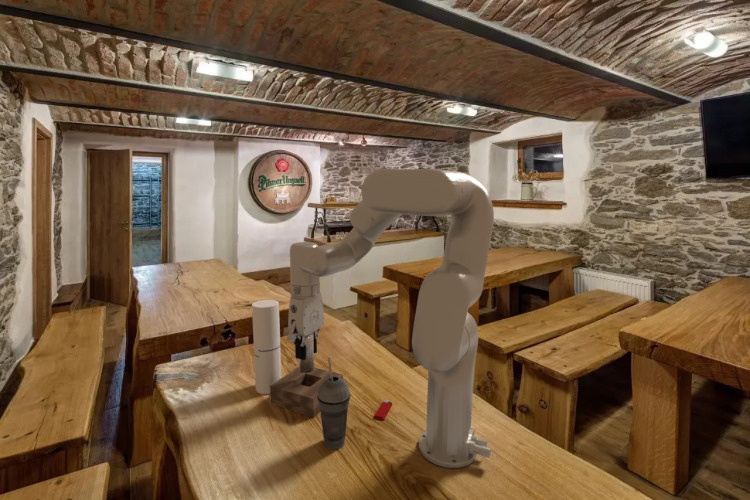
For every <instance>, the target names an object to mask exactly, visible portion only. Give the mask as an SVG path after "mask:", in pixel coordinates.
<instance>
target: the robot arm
mask: <svg viewBox="0 0 750 500" xmlns="http://www.w3.org/2000/svg"><path fill="white" fill-rule="evenodd" d="M360 191H361V193H360V194H361V199H362V200H360V202H358V204H357V205H356V206H354V208H352V210H351V211H350V214H349V221H350V224H351V225H352V227H353V228H352V229H351V230H350V231H349V233H348V234H347V235H345V236H344V237H343V238H342V239H341V240H339V241H337V242H333V243H326V244H323V245H318V244H317V243H315V242H311V241H301V242H295V243H292V244H291V245H290V248H289V268H290V270H289V272H290V273H289V274H290V277H289V278H290V299H289V305H288V321H287V322H288V335H287V340H288V341H290V342H292V344H293V345H294V348H295V349H294V352H295V353H294V355H295V356H294V357H295V359H298V360H299V359H301V360H306V345H305V336H307V335H309V334H311V333H313V335H314V354H317V353H318V337H319V331H320V329H321V328H323V326H324V325H325V314H324V302H323V297H322V293H321V288H320V287H321V285H320V284H321V283H320V282H321V281H320V280H321V278H325V277H328V276H332V275H334V274H336V273H340V272H343V271H344V272H345V271H348V270H349V269H351V268H353V267H354V266H356V265H357V263H359V262H360V261H361V260H362V259H363V258H364V257H365V256H366V255H368V254H369V252H370V251H372V249H373V247H374V245H375V244H376V242H377V240H378V238H379V237H380V236H381V235H382V234H383V233H384V232H385V231H386V230H387V229H388V228H389V227H390V226H392V224H394V222H396V221H397V220H398V219H399V218H401V216H402V215H412V216H422V217H423V216H425V217H426V216H427V217H436V216H437V217H440V216H446V215H450V216H451V221H450V226H449V229H448V232H447V235H446V238H445V247H444V253H443V257H442V262H441V265H440V266H439V267H436V268H434V269H433V270H431V271H430V272H429V273H428V274H427V275H426V276H425V278H424V280H422V283H421V285H420V289H419V292H418V296H417V303H416V308H415V309H416V310H415V316H414V322H413V330H412V338H411V345H412V346H411V347H412V352H413V355H414V357H415V360H416V361H417V362H418V364H419V365H420V366H421V367H422V368H423V369H425V371H426V370H427V371H428V372H427V395H426V396H427V397H426V398H427V399H426V402H427V403H426V427H425V428H426V430H425V431H423V432H422V433H421V434H420V436H419V439H418V448H419V452H420V453H421V455H422V456H423V457H424V458H425V459H427V460H428V462H430V463H432V464H434V465H437V466H439V467H443V468H450V469H458V468H463V467H466V466H469V465H471V464H472V463H473V462H474V461H475V460H476V458H477V455H479V456H482V457H484V458H488V459H490V458H491V455H492V448H491V447H489V446H488V440H485V439H481V438H478V437H477V436H475V429H474V428H473V427H472V413H473V412H472V411H473V394H474V378H475V377H474V376H475V374H474V373H475V367H476V366H475V364H476V356H477V351H478V345H479V344H478V343H479V328H478V325H477V322H476V320H475V318H474V317H473V315H471V313H469V312H468V311H469V308H471V307H472V306H473V305H474V304H475V303H476V302H478V300H479V299H480V298H481V296H482V293H483V289H484V284H485V283H484V282H485V276H486V271H487V264H488V260H489V253H490V246H491V240H492V234H493V228H494V227H493V226H494V219H495V217H494V215H495V214H494V213H495V212H494V206H493V201H492V199H491V196H490V194H489V192H488V190H487V189H486V188H485V187H484V185H482V183H480V181H478V180H477V179H476V178H475V177H473V176H470V175H469V174H467V173H463V172H462V171H456V170H449V169H448V170H447V169H442V168H441V169H437V168H436V169H435V168H418V169H417V168H413V169H412V168H411V169H410V168H405V169H404V168H401V169H399V168H398V169H397V168H378V169H375V170H374V171H372V172H370V173H369V174H368V175H367V176H366V177H365V178H364V180H363V183H362V185H361V190H360ZM298 336H301V340H300V339H299V338H298Z"/></svg>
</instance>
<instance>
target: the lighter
mask: <svg viewBox="0 0 750 500" xmlns="http://www.w3.org/2000/svg"><path fill="white" fill-rule="evenodd" d="M392 406H393V403H392V402H391V401H390V400H389V399H383V400H382V402H381V403H380V405H379V406H378V409H377V410H376V412H375V413H374V415H373V416H372V418H373V419H376V420H381V421H385V419H386V417H387V416H388V414H389V412H390V410H391V408H392Z"/></svg>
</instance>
